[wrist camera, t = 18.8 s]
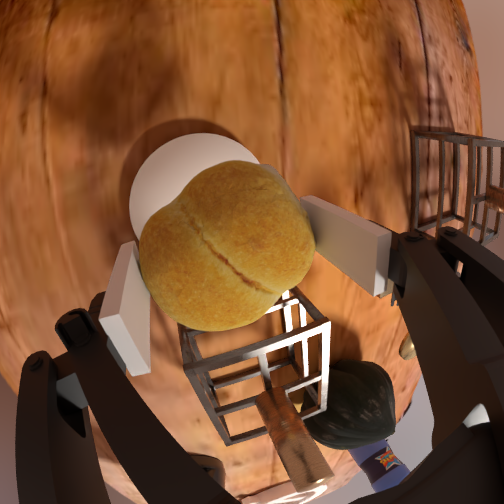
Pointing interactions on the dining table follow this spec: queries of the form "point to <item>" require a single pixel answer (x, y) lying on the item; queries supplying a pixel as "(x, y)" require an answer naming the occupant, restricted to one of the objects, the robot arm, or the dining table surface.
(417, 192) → the wire frame cage
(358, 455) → the water bottle
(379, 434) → the squash
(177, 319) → the bread roll
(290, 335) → the metal bar cube frame
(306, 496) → the ring with crossbar
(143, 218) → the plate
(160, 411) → the dining table surface
